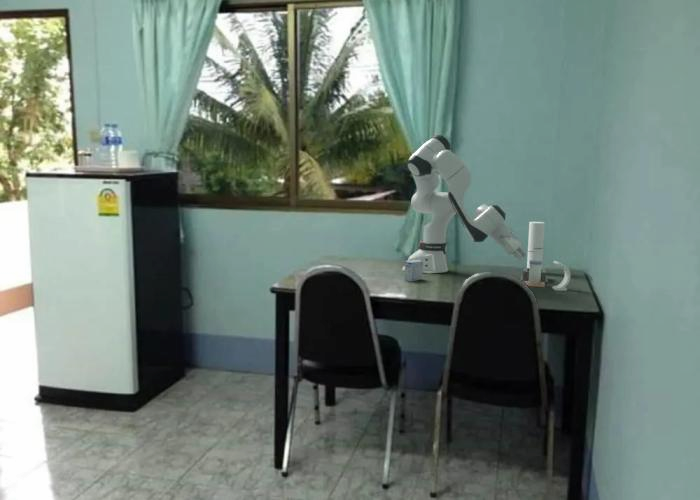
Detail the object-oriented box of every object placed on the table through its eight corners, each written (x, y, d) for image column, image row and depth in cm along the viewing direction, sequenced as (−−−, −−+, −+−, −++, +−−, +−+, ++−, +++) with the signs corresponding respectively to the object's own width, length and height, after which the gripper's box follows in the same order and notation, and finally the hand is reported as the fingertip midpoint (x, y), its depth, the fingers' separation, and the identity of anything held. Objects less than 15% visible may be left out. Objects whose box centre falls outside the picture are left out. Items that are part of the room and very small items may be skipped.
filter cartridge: (528, 284, 273) (529, 261, 272) (528, 281, 278) (529, 260, 276) (540, 284, 271) (541, 262, 270) (540, 282, 276) (541, 260, 275)
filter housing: (520, 281, 282) (520, 271, 281) (520, 276, 294) (521, 267, 293) (547, 283, 279) (548, 273, 278) (547, 278, 290) (547, 268, 289)
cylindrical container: (542, 274, 300) (545, 223, 296) (527, 273, 301) (530, 222, 298) (540, 271, 307) (543, 221, 303) (526, 271, 308) (528, 221, 305)
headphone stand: (551, 288, 267) (553, 260, 266) (565, 288, 267) (567, 261, 266) (555, 290, 263) (557, 262, 261) (569, 290, 263) (571, 262, 261)
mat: (523, 285, 272) (523, 284, 272) (523, 282, 280) (523, 280, 280) (544, 287, 269) (544, 286, 269) (544, 283, 278) (544, 282, 278)
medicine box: (415, 278, 286) (415, 259, 285) (422, 279, 283) (423, 260, 282) (404, 280, 281) (404, 261, 280) (411, 281, 278) (412, 262, 276)
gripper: (503, 232, 268) (524, 256, 265) (511, 228, 286) (532, 250, 284) (492, 242, 270) (513, 265, 268) (501, 237, 289) (521, 259, 286)
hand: (523, 257), depth 276 cm, fingers open, 8 cm apart
